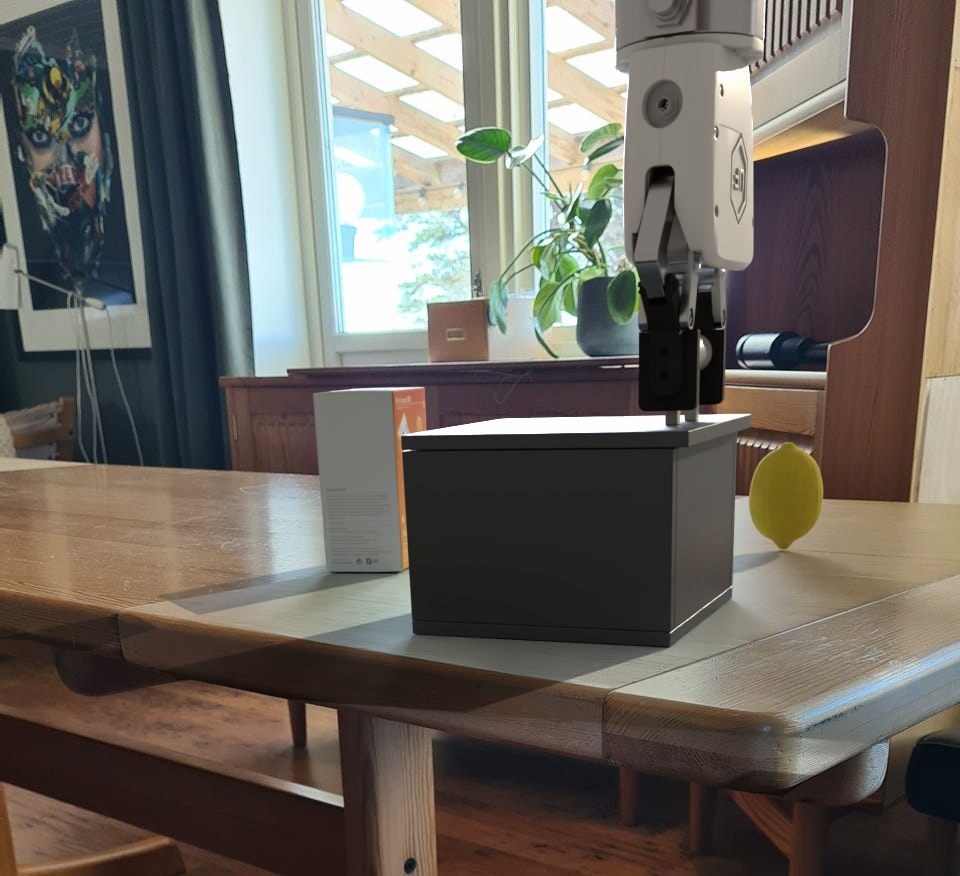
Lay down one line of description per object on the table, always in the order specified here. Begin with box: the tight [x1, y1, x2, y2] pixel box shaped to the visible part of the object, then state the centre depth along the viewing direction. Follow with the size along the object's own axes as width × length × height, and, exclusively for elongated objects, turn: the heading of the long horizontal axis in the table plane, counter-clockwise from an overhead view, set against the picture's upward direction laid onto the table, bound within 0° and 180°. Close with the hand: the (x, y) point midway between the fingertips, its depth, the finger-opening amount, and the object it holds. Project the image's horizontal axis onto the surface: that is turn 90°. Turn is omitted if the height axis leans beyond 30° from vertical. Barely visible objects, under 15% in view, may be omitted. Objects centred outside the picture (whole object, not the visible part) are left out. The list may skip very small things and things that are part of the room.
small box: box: [312, 386, 427, 573], centre depth 98 cm, size 8×6×13 cm
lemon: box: [748, 441, 824, 551], centre depth 98 cm, size 6×6×8 cm
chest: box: [402, 432, 738, 648], centre depth 77 cm, size 16×15×10 cm
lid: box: [401, 335, 752, 450], centre depth 74 cm, size 16×15×5 cm
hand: (682, 403), depth 72 cm, fingers closed on lid, 5 cm apart
